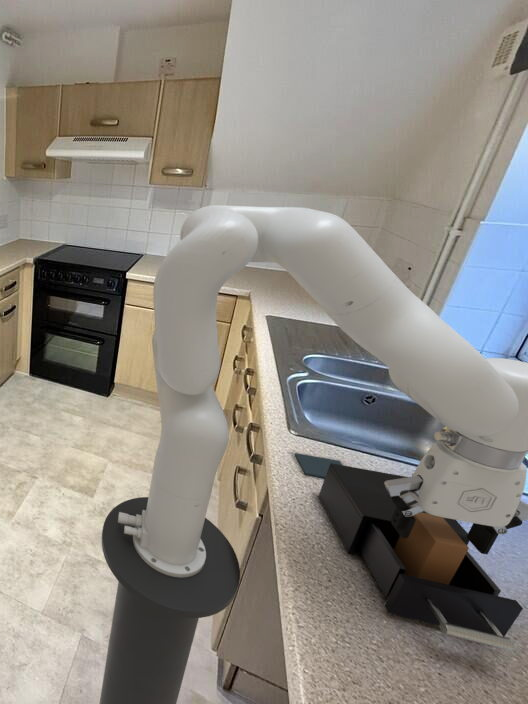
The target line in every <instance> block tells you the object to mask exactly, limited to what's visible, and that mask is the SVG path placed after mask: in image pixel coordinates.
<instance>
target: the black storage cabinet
mask: <svg viewBox="0 0 528 704" xmlns="http://www.w3.org/2000/svg"><path fill="white" fill-rule="evenodd" d="M407 477H408V476H405V475H399V474H394V473H389V472H388V473H387V472H384V471H383V472H382V471H377V470H371V469H367V468H366V469H365V468H360V467H355V466H348V465H345V464H344V465H343V464H342V465H338V464H332V463H330V466H329V468H328V471H327V474H326V477H325V478H323V482H322V485H321V488H320V491H319V494H318V495H317V497H318V500H319V501H320V503H321V505H322V508H323V509H324V511H325V513H326V514H327V517H328V519H329V520H330V522H331V524H332V527H333V528H334V530H335V531H336V533H337V536H338V537H339V540H340V541H341V543H342V545H343V547H344V549H345V550H346V553H347V554H350V555H355V556H358V557H363V556H362V555H361V553H360V551H359V549H358V548H357V543H358V541H359V539H360V536H361V534H362V532H363V529H364V527H365V525H366V522H367V520H370V521H375V522H380V523H385V524H389V525H392V523H391V518H392V516H393V513H394V511H395V509H396V505H395V504H394V503H393V501H392V500H391V499H390V497H389V496H388V495H387V491H386V487H385V484H384V482H385V481H387V480H394V479H400V478H407ZM406 493H408V490H406V491H402V492H400V496H401V495H404V494H406ZM416 503H418V502H417V501H416V500H415V501H412V502H410V503H408V504H407V505H408V506H411V505H413V504H416ZM421 513H426V512H425V511H423V512H421ZM426 514H428V513H426ZM444 520H445V521H446V522H447V523H448V524H449V525H450V526H451V528H452V529H453V530H454V531H455V532H456V533H457V535H458V536H459V537H460V538H461V539H462V540H463V542H464V543H465V544H466V545H467V546H468V545H469V543H470V541H469V540H468V538H467V535H468V533H469V532H467V530H465V528H464V527H463V526H462V525H461V524H460V523H459V522H458V520H454V519H448V518H444Z"/></svg>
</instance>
